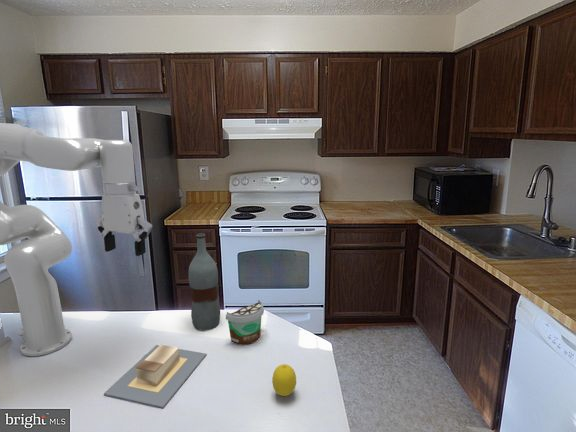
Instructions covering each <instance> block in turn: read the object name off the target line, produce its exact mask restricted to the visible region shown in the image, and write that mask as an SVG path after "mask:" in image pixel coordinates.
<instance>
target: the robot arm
mask: <svg viewBox="0 0 576 432" xmlns="http://www.w3.org/2000/svg"><path fill="white" fill-rule="evenodd" d="M133 149H134V148H133V145H132V143H131V142H130V141H128V140H125V139H102V138H101V139H100V138H94V137H88V138H84V137H83V138H82V137H81V138H79V137H78V138H77V137H76V138H66V137H65V138H64V137H54V136H49V135H45V134H44V133H43V132H42V131H40V130H39V129H36V128H30V127H25V126H23V125H21V124H17V123H4V122H0V177H2V176H3V175H6V174H7V173H8V172H9V171H10V170H11V169H13V168H14V167H15V166H16V165H17V164H18V163H20V162H28V163H30V164H33V165H34V166H37V167H39V168H40V167H41V168H46V169H51V170H60V171H67V172H68V171H69V172H73V171H74V172H75V171H81V170H82V171H83V170H88V169H95V168H96V169H97V168H100V169H101V177H102V188H103V189H102V190H103V194H102V196H101V216H99V217H96V218H95V219H94V223H95V225H96V227H97V230H98V231H99V233H100V236H101V237H102V238H103V244H104V252H111V251H113V250H115V249H117V248H116V247H117V245H116V244H117V243H116V236H115V234H114V233H119V234H131V235H132V236H133V238H134V239H135V241H134V253H135V254H134V255H135V256H136V257H139V256H141V255H145V253H146V251H147V250H146V249H147V248H146V239H148V237H149V235H150V234H151V230H152V229H153V224H152V223H150V222H149V221H148V220H146V219H145V215H144V214H145V213H144V208H143V204H142V200H141V197H140V194H138V193H137V192H138V191H139V186H138V185H136V177H135V176H136V175H135V174H136V173H135V163H134V161H135V159H134V150H133ZM24 239H26V240H24ZM21 240H23V241H21ZM18 241H20V242H18ZM16 242H18V243H16ZM12 243H16V244H14V245H13V246H11V247H10V248H9V249H8V250H7V251H6V253H5V255H4V265H5V268H6V270H7V272H8V274H9V276H10V278H11V281H12V284H13V288H14V292H15V296H16V300H17V304H18V305H17V306H18V309H19V314H20V319H21V326H22V329H21V330H20V331H19V332H17V335H18V336H19V337H23V342H22V343H20V347H19V351H20V353H21V355H24V356H27V357H39V356H44V355H48V354H50V353H54V352H56V351H58V350H60V349H62V348H63V347H65V346H67V345H68V344H69V343H70V342H71V341H72V338H73V333H72V331H71V330H69V329H67V328H65V324H64V323H65V322H64V317H63V316H64V315H63V312H62V311H63V309H62V306H61V299H60V294H59V289H58V283H57V281H56V279H55V278H54V277H53V276H52V275H51V274H50V272H49V269H50V268H51V267H53V266H56V265H57V264H59V263H61V262H63V261H65V260H67V259H68V258H69V257H70V256H71V254H72V250H73V245H72V241H70V238H69V237H68V236H67V234H66V233H65V232H64V231H63V230H62V229H61V228H60V227H59V226H58V225H57V224H56V223H55V222H54V221H53V220H52V219H51V218H50V217H49V216H48V215H47V214H46V213H45V212H44V211H43V210H42V209H40V208H39V207H37V206H34V205H31V204H20V205H15V206H7V205H6V204H5V203H3V202H2V201H1V200H0V246H5V245H10V244H12Z"/></svg>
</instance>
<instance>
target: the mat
mask: <svg viewBox="0 0 576 432" xmlns="http://www.w3.org/2000/svg"><path fill="white" fill-rule="evenodd" d="M159 346H160V345H158V344H156V345H154V346H153V347H152V348H150V350H149V351H147V353H146V354H145V355H144V356H142V357H141V358H140V359H139V360H138V361H137V362H136V363H135V364H134V365H133V366H132V367H131V368H130V369H128V370H127V371H126V372H125V373H124V374H123V375H122V376H121V377H120V378H119V379H118V380H116V382H114V383H113V384H112V385H111V386H110V387H109V388H108V389H107V390H106V391H104V393H103V396H106V397H110V398H114V399H118V400H123V401H128V402H132V403H137V404H140V405H145V406H150V407H154V408H159V409H163V410H164V408H165V407H166V406H167V405H168V404H169V403H170V401H171V400H172V399H173V397H174V396H175V395H176V394H177V393H178V392H179V390H180V389H181V388H182V387H183V385H184V384H185V383H186V381H187V380H188V379H189V378H190V376H191V375H193V373H194V372H195V371H196V369H197V368H198V366H200V364H201V363H202V361H203V360H204V359H205V358H206V357H207V355H208V353H205V352H199V351H195V350H194V351H193V350H188V349H181V348H179V355H180V362H179V363H178V364H177V365H176V366H175V367H174V368H173V369H172V370H171V372H170V373H169V374H168V375H167V376H166V377H165V378H164V379H163V380H162V381H161V383H160V384H159V385H158V386H157V387H156V386H151V385H147V384H142V383H137V376H136V368H135V367H137V366H138V365H139V364H140V363H141V362H142V361H143V360H145V359H146V358H147V357H148V356H149V355H150V354H151V353H152V352H154V351H155V350H156V349H157V348H158V347H159Z"/></svg>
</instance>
